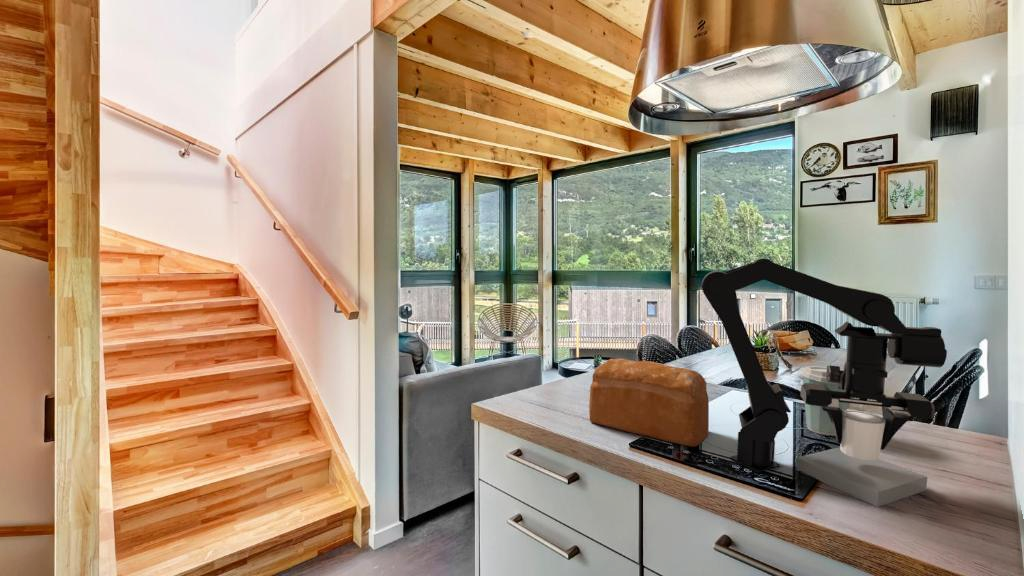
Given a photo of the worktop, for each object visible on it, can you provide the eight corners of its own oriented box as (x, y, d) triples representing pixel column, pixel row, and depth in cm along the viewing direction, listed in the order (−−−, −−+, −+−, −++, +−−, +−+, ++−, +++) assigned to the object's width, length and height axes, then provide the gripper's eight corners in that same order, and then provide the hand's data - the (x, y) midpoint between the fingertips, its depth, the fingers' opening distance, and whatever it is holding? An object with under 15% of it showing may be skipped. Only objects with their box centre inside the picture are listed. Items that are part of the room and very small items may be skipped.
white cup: (891, 463, 81) (894, 424, 81) (847, 459, 83) (850, 421, 82) (870, 447, 88) (872, 411, 87) (829, 444, 89) (831, 408, 89)
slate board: (877, 506, 76) (878, 492, 76) (796, 470, 89) (796, 457, 89) (926, 490, 82) (927, 476, 82) (843, 457, 95) (844, 445, 95)
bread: (608, 408, 124) (609, 350, 123) (712, 431, 109) (715, 365, 107) (584, 423, 113) (585, 360, 112) (695, 451, 98) (698, 378, 96)
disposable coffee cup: (792, 420, 116) (795, 361, 115) (843, 425, 112) (847, 364, 111) (804, 436, 106) (808, 371, 105) (860, 442, 102) (865, 375, 101)
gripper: (911, 357, 88) (905, 437, 89) (797, 348, 95) (793, 423, 96) (939, 371, 78) (932, 461, 79) (809, 360, 85) (803, 443, 86)
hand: (859, 445), depth 85 cm, fingers closed on white cup, 6 cm apart
